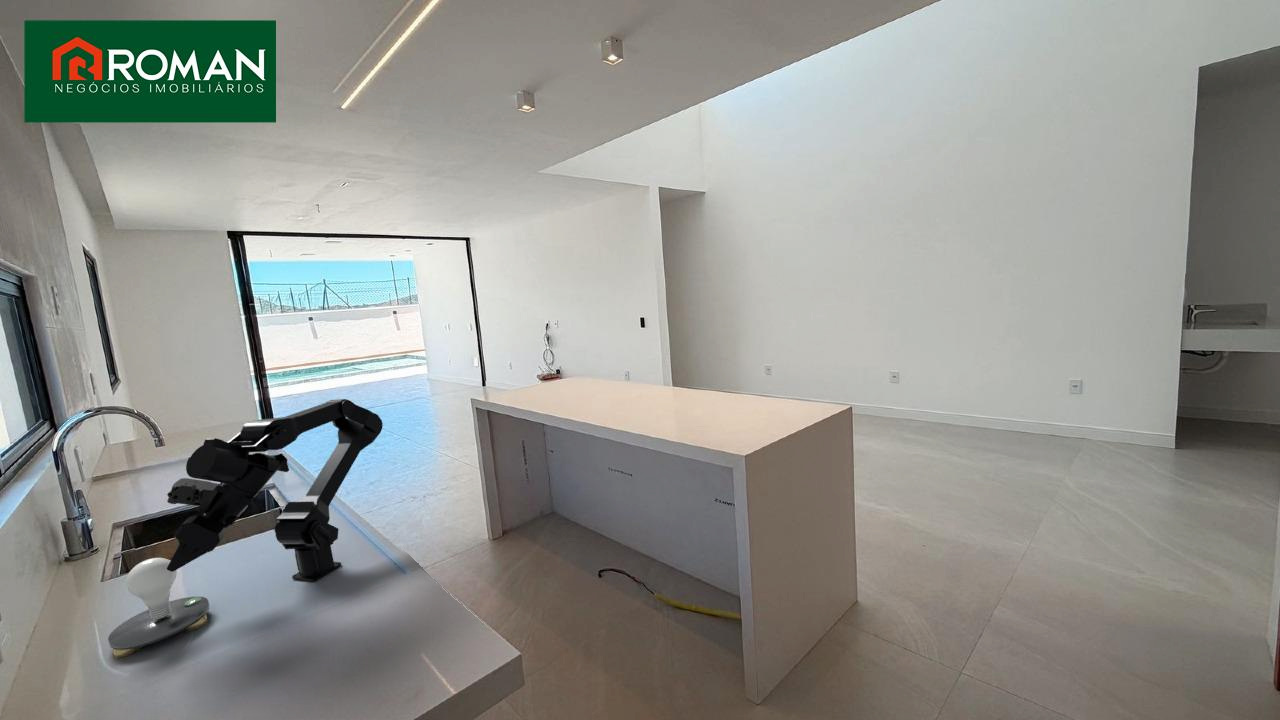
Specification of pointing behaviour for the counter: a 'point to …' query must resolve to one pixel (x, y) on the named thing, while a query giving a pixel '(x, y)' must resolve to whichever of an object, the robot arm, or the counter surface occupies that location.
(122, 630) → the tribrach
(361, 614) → the counter surface
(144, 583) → the lightbulb
